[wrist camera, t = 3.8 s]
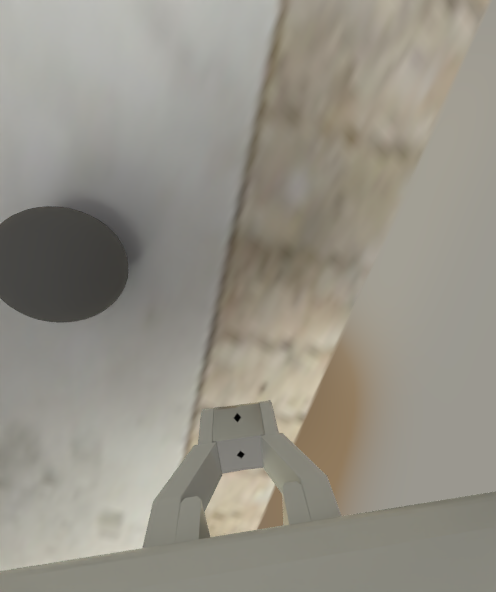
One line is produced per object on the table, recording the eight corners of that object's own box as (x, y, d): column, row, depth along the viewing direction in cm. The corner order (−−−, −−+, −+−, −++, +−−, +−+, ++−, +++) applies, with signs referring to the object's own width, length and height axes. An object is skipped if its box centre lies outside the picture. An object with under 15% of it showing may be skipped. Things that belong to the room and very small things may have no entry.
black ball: (116, 311, 16) (68, 364, 11) (25, 265, 15) (-80, 302, 10) (157, 242, 15) (126, 267, 10) (63, 182, 13) (-35, 174, 8)
